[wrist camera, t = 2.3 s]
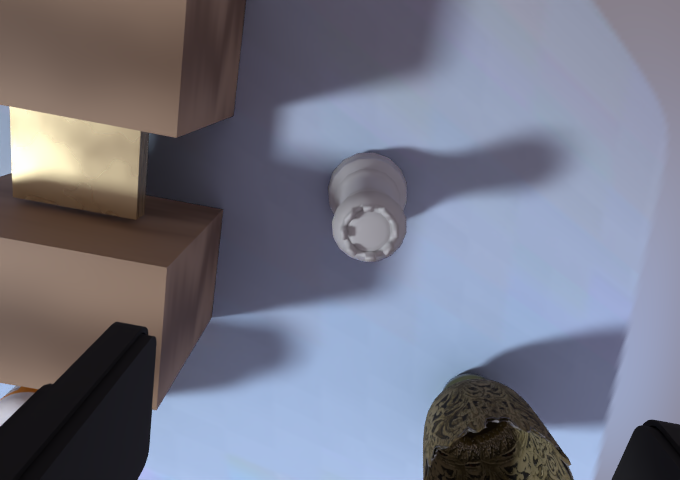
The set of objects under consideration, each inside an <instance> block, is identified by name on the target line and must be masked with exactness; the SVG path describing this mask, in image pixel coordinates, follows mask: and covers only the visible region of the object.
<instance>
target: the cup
mask: <svg viewBox="0 0 680 480" xmlns="http://www.w3.org/2000/svg"><path fill="white" fill-rule="evenodd" d="M570 465H571V463H570V461H569V459H568V457H567V456H566V455H565V454H564V452H563V451H562V450H561V448H560V447H559V445H558V444H557V443H556V441H555V440H554V438H553V437H552V435H551V434H550V433H549V431H548V430H547V428H546V427H545V426H544V424H543V423H542V422H541V420H540V419H539V417H538V416H537V415H536V414H535V412H534V411H533V410H532V408H531V407H530V406H529V405H528V404H527V403H526V401H525V400H524V399H523V398H522V397H521V396H519V395H518V394H517V393H516V392H515V391H513V390H512V389H510V388H509V387H507V386H505V385H503V384H501V383H498V382H496V381H492V380H488V379H486V378H484V377H482V376H480V375H477V374H470V373H468V374H461V375H458V376H456V377H454V378H452V379H451V380H450V381H449V382H448V383H447V384H446V385H445V387H444V389H443V391H442V393H440V394H439V395H438V397H437V398H436V399H435V400H434V402H433V403H432V405H431V407H430V409H429V411H428V414H427V417H426V421H425V426H424V437H423V480H574V479H573V476H572V473H571V471H570V469H569V467H568V466H570Z"/></svg>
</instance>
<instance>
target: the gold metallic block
mask: <svg viewBox="0 0 680 480" xmlns="http://www.w3.org/2000/svg"><path fill="white" fill-rule="evenodd" d="M10 130H11V158H12V187H13V197H15V198H20V199H26V200H31V201H37V202H42V203H48V204H53V205H58V206H64V207H69V208H75V209H80V210H85V211H91V212H96V213H102V214H107V215H113V216H118V217H123V218H129V219H134V220H137V219H138V218H140V217H141V216H143V215H144V214H145V197H146V179H147V161H148V143H149V133H148V132H143V131H138V130H132V129H127V128H122V127H116V126H111V125H106V124H101V123H95V122H90V121H85V120H79V119H74V118H69V117H63V116H58V115H53V114H47V113H42V112H37V111H32V110H26V109H21V108H16V107H10Z"/></svg>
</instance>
